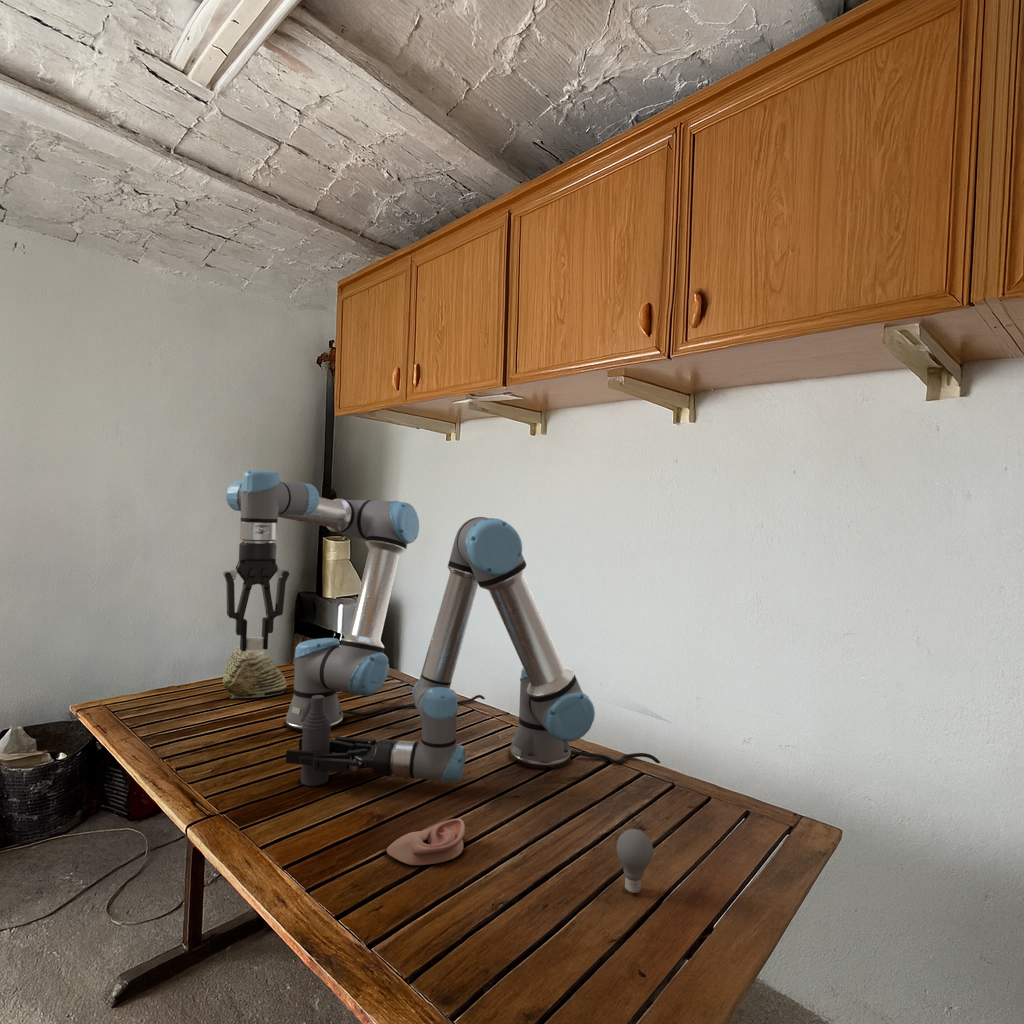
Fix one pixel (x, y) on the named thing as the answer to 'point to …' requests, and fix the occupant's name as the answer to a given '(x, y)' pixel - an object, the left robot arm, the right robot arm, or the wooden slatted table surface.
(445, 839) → the anatomical model
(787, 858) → the wooden slatted table surface
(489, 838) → the wooden slatted table surface
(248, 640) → the cap
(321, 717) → the bottle
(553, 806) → the wooden slatted table surface
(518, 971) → the wooden slatted table surface
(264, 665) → the fossil
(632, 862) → the light bulb
